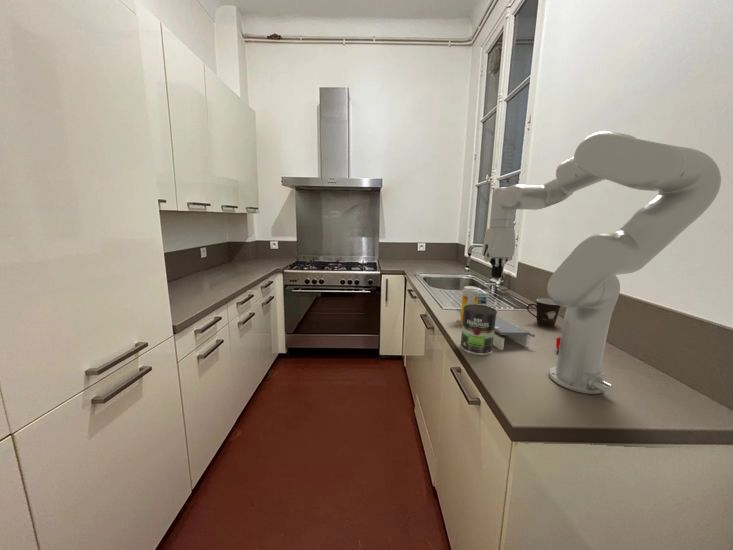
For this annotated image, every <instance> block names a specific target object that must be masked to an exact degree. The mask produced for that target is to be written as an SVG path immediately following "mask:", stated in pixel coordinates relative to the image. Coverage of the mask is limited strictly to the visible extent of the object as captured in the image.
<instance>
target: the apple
mask: <svg viewBox="0 0 733 550" xmlns="http://www.w3.org/2000/svg"><path fill="white" fill-rule="evenodd" d="M555 340H556V343H555V347H556V349H557V351H559V347H560V340H561V336H560V337H557V338H556V339H555Z"/></svg>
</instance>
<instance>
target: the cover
mask: <svg viewBox="0 0 733 550" xmlns="http://www.w3.org/2000/svg"><path fill="white" fill-rule="evenodd" d="M494 333H496V334H498V335H499V336H502V335H503V336H505V335H529V334H530V333H531V332H530V331H528V330H526V329H524V328H522V327H520V326H518V325H516V324H514V323H513V322H510V321H508V320H506V319H504V318H502V317H501V316H499V315H496V320H495V328H494ZM529 336H530V335H529Z"/></svg>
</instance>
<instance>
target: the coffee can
mask: <svg viewBox="0 0 733 550" xmlns="http://www.w3.org/2000/svg"><path fill="white" fill-rule="evenodd" d="M463 309H464V313H463V324H462V325H461V337H460V345H459V346H460V349H461V350H463V352H466V353H468V354H470V355H475V356H476V355H477V356H488V355H491V354H492V353H493V346H494V345H493V337H494V333H495V331H494V328H495V320H496V316H497V313H498V312H497V310H496V309H495V308H493V307H491V306H488V305H487V306H484V305H473V304H472V305H466V306H464V308H463Z"/></svg>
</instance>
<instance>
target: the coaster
mask: <svg viewBox="0 0 733 550" xmlns="http://www.w3.org/2000/svg"><path fill="white" fill-rule="evenodd" d="M456 323H457V324H458V323H459V324H458V325H460V324H461V326H462V324H463V322H462V321H461V318H458V319H456Z"/></svg>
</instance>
